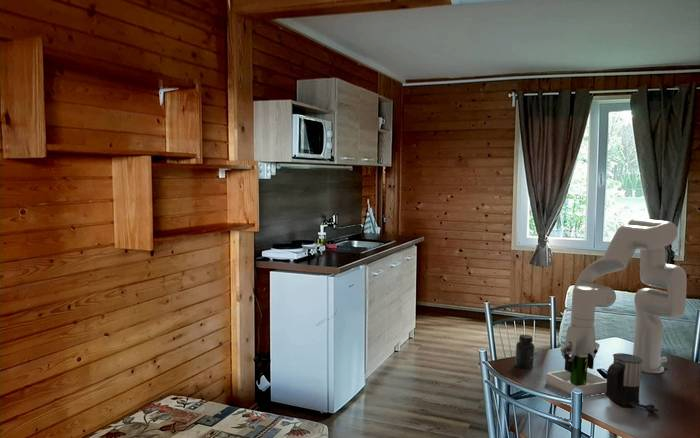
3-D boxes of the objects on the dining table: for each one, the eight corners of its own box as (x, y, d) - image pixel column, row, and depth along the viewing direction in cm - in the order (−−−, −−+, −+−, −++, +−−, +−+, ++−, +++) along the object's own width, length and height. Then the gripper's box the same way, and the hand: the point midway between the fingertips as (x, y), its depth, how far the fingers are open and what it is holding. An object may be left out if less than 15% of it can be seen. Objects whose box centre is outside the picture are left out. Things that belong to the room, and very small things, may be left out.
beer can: (570, 386, 196) (572, 353, 195) (569, 381, 201) (571, 348, 200) (586, 388, 194) (588, 355, 193) (585, 383, 199) (587, 350, 198)
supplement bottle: (534, 370, 214) (536, 339, 213) (515, 368, 215) (517, 338, 214) (532, 364, 220) (534, 334, 219) (514, 362, 222) (515, 332, 221)
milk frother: (613, 392, 195) (616, 350, 193) (664, 405, 185) (668, 362, 183) (601, 404, 184) (604, 360, 182) (654, 419, 174) (658, 373, 172)
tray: (579, 378, 207) (579, 367, 206) (610, 392, 194) (611, 381, 194) (545, 383, 200) (546, 373, 200) (575, 399, 188) (576, 387, 187)
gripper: (591, 317, 202) (588, 363, 203) (555, 321, 195) (552, 368, 196) (609, 322, 195) (605, 370, 197) (571, 327, 188) (568, 376, 190)
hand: (578, 369), depth 197 cm, fingers open, 9 cm apart
